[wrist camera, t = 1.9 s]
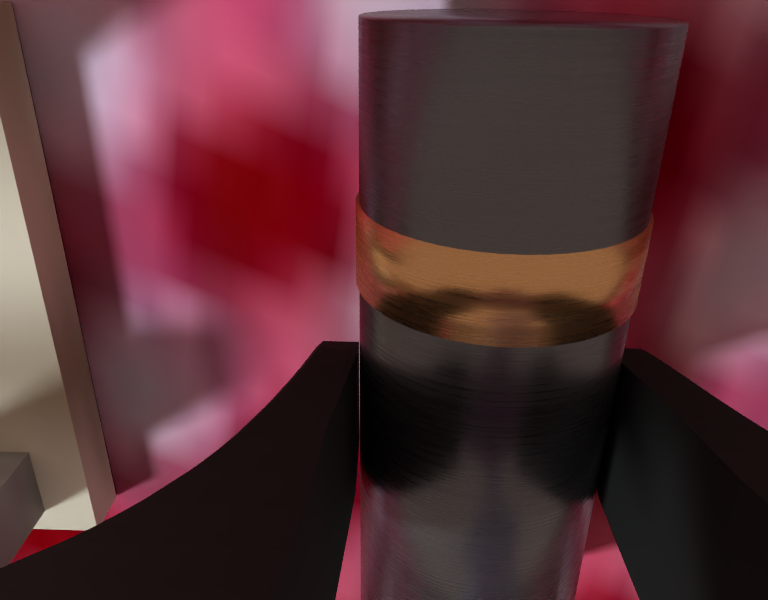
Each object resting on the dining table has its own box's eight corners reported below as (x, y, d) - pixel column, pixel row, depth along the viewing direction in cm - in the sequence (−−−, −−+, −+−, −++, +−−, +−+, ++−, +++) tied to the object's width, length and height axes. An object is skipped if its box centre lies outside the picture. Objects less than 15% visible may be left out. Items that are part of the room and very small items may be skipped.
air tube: (538, 572, 16) (584, 758, 12) (362, 569, 16) (353, 754, 12) (628, 10, 10) (762, 33, 7) (361, 7, 10) (344, 27, 7)
